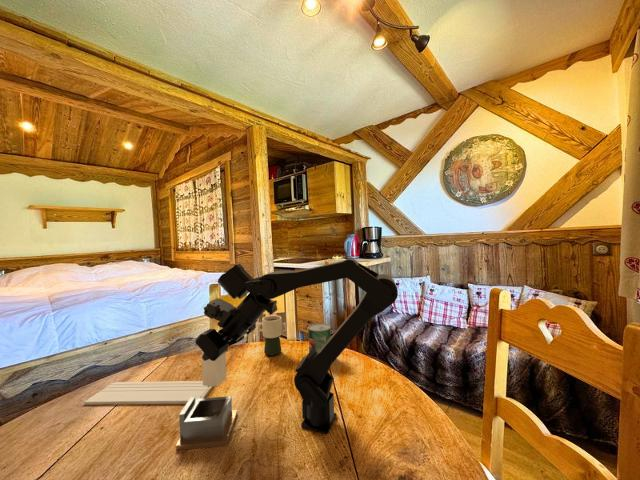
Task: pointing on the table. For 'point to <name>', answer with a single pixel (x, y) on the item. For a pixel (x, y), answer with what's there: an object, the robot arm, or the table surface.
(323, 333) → the canned tomato
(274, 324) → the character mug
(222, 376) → the cream rectangular block
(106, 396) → the baseboard molding
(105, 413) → the table surface
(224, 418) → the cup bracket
